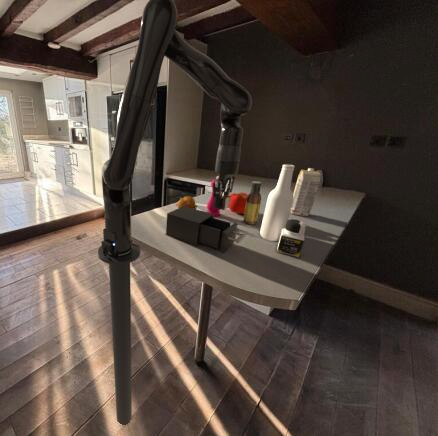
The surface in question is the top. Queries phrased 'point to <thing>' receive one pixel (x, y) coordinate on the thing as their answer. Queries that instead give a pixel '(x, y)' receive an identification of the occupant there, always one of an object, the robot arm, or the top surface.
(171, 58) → the robot arm
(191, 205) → the orange rounded lump
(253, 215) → the sauce bottle
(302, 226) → the medicine bottle
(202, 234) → the drawer
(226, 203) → the block
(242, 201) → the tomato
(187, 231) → the cabinet
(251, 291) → the top surface
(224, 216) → the top surface
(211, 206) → the pepper mill
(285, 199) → the alcohol
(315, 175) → the juice carton
